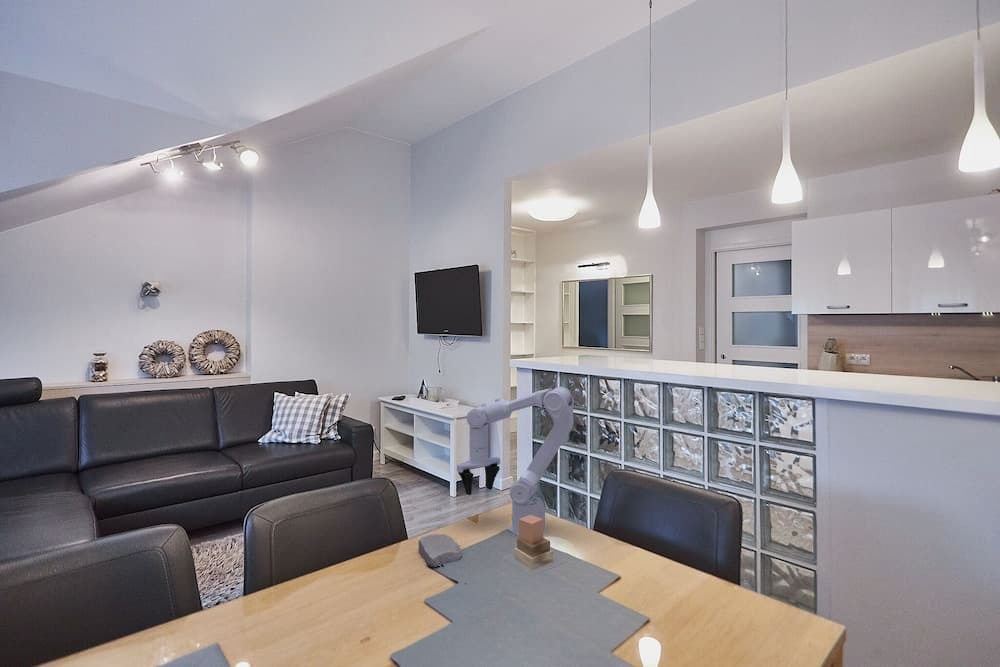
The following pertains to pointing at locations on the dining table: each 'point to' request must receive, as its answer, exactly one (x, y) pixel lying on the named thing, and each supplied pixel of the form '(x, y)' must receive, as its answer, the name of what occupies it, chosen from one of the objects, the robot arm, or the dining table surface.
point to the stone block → (439, 549)
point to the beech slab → (533, 558)
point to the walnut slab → (533, 547)
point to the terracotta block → (531, 529)
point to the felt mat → (535, 570)
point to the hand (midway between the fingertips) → (479, 491)
